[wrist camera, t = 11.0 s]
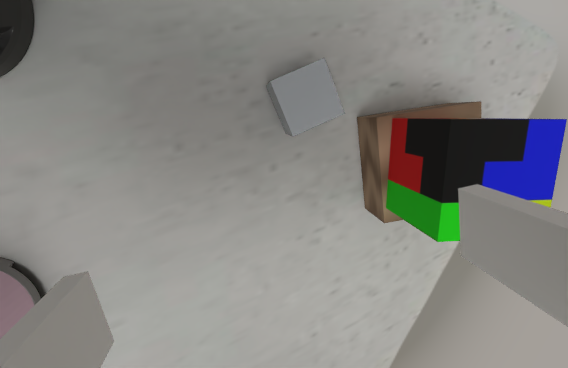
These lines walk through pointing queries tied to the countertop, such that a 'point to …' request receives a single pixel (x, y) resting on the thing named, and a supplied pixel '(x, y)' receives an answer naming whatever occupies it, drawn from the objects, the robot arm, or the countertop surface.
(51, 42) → the countertop surface
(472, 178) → the puzzle toy
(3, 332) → the blender
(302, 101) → the slate block
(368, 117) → the walnut block
